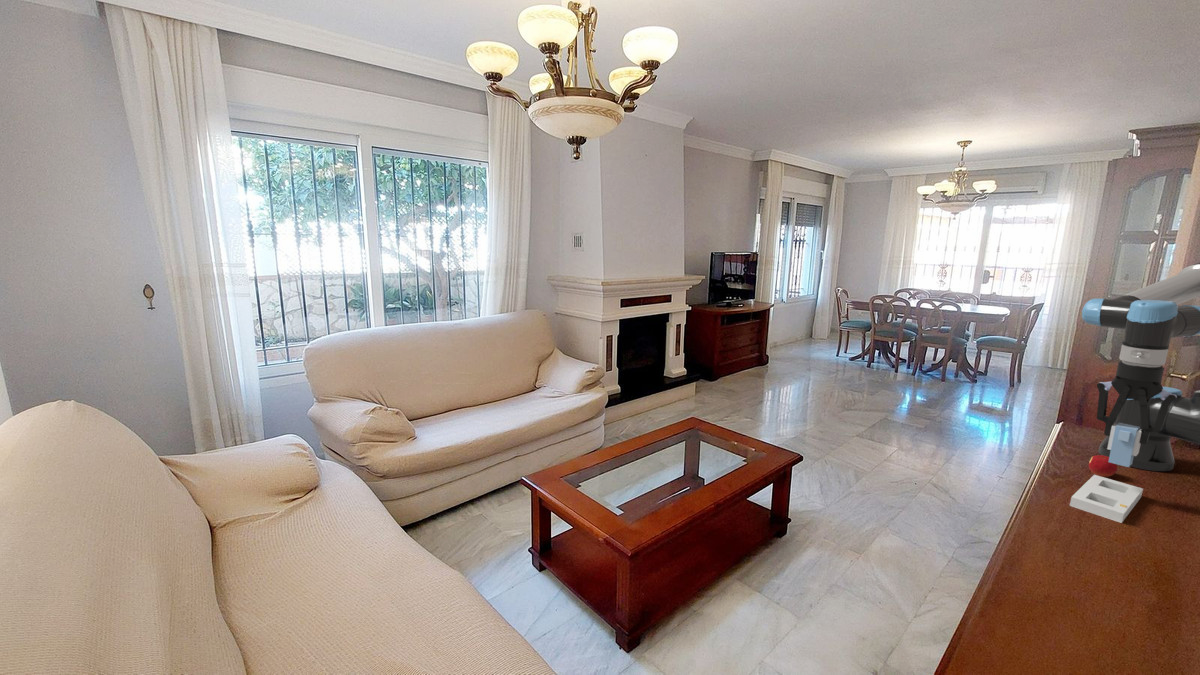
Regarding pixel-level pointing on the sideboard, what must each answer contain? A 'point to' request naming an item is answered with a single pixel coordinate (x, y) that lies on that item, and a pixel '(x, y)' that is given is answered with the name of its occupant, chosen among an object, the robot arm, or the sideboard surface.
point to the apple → (1102, 466)
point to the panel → (1106, 498)
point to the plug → (1123, 444)
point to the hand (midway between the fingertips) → (1122, 451)
